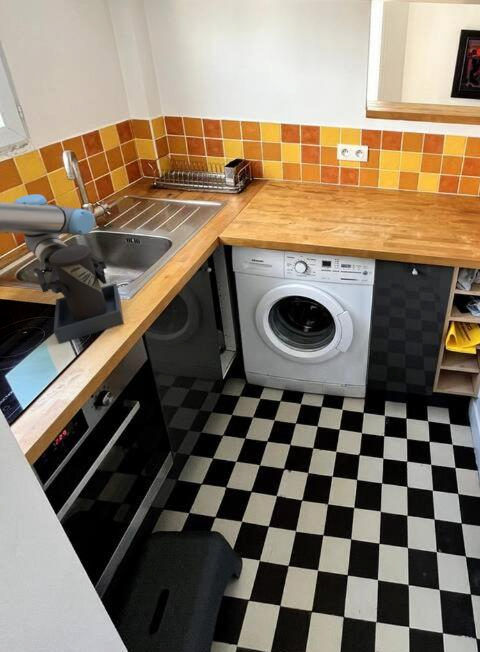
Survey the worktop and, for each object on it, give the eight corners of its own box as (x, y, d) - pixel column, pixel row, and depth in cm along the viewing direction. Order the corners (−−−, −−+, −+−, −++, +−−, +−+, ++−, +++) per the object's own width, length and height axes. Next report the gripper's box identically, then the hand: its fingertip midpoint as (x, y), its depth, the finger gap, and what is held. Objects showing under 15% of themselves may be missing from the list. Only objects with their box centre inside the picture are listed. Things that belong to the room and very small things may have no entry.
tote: (58, 344, 100) (53, 330, 98) (61, 311, 111) (56, 299, 109) (123, 323, 107) (120, 310, 105) (119, 295, 118) (116, 283, 116)
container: (96, 323, 104) (75, 260, 96) (62, 322, 104) (38, 259, 96) (115, 302, 112) (97, 242, 103) (84, 301, 112) (64, 241, 103)
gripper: (98, 252, 122) (130, 280, 110) (16, 282, 108) (42, 318, 95) (91, 231, 119) (124, 258, 106) (6, 259, 104) (32, 293, 92)
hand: (86, 286), depth 101 cm, fingers closed on container, 8 cm apart
